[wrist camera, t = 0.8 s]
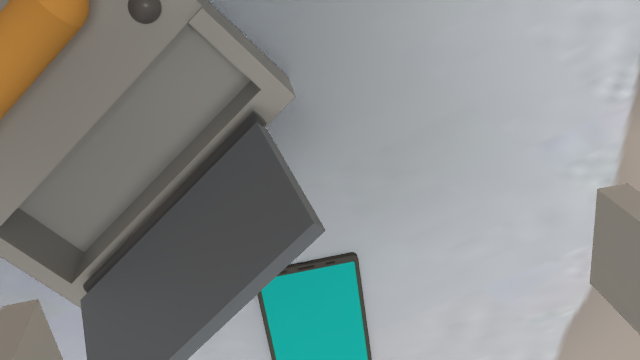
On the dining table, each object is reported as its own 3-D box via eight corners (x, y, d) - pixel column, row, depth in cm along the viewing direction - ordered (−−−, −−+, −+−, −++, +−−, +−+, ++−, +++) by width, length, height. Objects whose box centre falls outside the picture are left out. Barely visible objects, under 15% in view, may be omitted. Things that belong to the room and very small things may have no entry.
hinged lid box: (-152, 104, 34) (-200, 129, 30) (51, -149, 30) (27, -158, 27) (96, 271, 40) (83, 309, 36) (288, 77, 37) (295, 96, 33)
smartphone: (357, 254, 42) (379, 415, 48) (355, 248, 43) (376, 407, 49) (251, 275, 41) (287, 434, 48) (251, 268, 42) (286, 426, 48)
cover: (95, 428, 28) (119, 433, 28) (313, 222, 25) (332, 234, 26) (77, 278, 35) (97, 285, 35) (246, 105, 32) (263, 117, 33)
